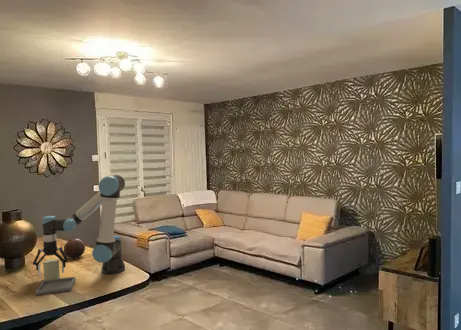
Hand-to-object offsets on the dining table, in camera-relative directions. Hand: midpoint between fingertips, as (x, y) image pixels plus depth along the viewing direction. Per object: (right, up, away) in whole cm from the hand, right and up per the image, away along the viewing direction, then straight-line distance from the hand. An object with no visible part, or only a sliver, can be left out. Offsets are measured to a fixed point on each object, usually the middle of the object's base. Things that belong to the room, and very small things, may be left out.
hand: (51, 273), depth 227 cm
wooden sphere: (-5, -2, +46) cm, 47 cm away
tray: (+11, -3, -16) cm, 19 cm away
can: (0, -4, 0) cm, 4 cm away
